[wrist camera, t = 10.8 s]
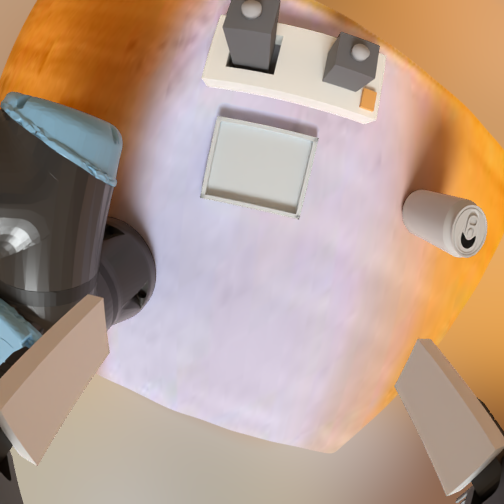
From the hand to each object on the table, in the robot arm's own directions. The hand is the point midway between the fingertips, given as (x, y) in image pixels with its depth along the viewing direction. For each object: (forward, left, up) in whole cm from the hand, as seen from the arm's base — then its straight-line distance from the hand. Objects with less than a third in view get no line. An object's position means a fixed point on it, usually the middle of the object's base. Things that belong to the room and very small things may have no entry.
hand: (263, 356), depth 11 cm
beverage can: (+21, -6, -27) cm, 34 cm away
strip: (+11, +16, -26) cm, 33 cm away
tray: (+2, +6, -26) cm, 27 cm away
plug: (+7, +19, -25) cm, 33 cm away
